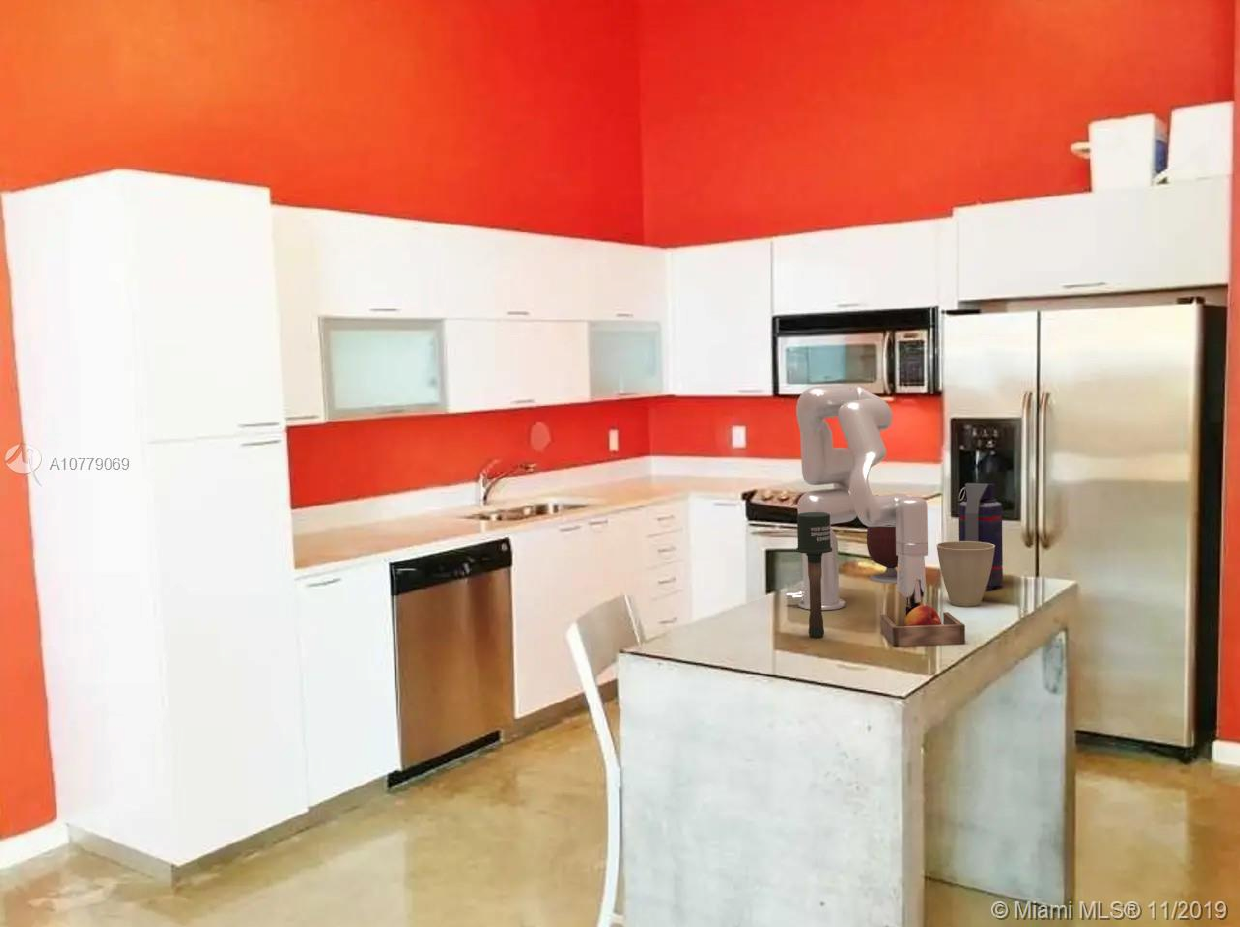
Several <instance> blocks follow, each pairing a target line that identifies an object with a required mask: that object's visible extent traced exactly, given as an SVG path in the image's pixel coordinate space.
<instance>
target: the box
mask: <svg viewBox="0 0 1240 927" xmlns="http://www.w3.org/2000/svg"><path fill="white" fill-rule="evenodd" d="M942 617H943V620H942V621H943V622H942V623H943V624H941V625H921V626H905V625H904V626H903V625H900V626H898V625H897V624H896V623H895V622H894V621H892V620H891V618H889V617H888V616H887V615H886V614H880V617H879V618H880V634H881V635H882V636H883V637H884V638H885V639H886V640H887V641H888V642H889V643H890V645H891V646H892V647H894V648H900V647H904V648H905V647H926V646H927V647H928V646H930V647H931V646H955V645H957V646H958V645H966V632H965V630H966V628H965V627H966V626H965V624H964V623H962V621H960V619H957V618H956V617H955V616H954V615H953V614H951V613H950V612H948V611H947V612H942Z"/></svg>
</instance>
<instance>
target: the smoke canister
mask: <svg viewBox="0 0 1240 927" xmlns="http://www.w3.org/2000/svg"><path fill="white" fill-rule="evenodd" d="M963 490H964V492H963V495H962V497H961V499H960V496H961V493H962V491H963ZM964 497H965V498H964ZM957 500H958V502H959V503H958V505H957V506H958V507H957V508H958V513H957V514H958V516H959V517H958V541H975V542H985V543H990V544H993V545H995V549H994V556H993V562H992V567H991V572H990V576H989V580H988V583H987V587H986V590H985V591H993V590H994V587H995V588H996V587H1000V586H1002V585H1003V583H1004V579H1003V577H1004V576H1003V575H1004V574H1003V573H1004V571H1003V569H1004V568H1003V566H1004V565H1003V561H1004V559H1003V555H1004V554H1003V518H1002V516H1003V504H1002V503H1001V502H998V501H997V499H996V498H995V484H994V483H987V482H966V483H964V486H963V487H962V488H961V489H960V492H959V494H958V499H957Z"/></svg>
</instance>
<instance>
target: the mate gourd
mask: <svg viewBox="0 0 1240 927" xmlns="http://www.w3.org/2000/svg"><path fill="white" fill-rule="evenodd" d="M866 545H867V546H866V547H867V551H868V555H869V557H870V558H871V560H872V561H873V562H874V563H876V564H878V565H880V566H883V567H885V572H883V573H877V574H872V575H870V578H869V579H870V581H872V582H874V583H880V584H881V583H882V584H897V575H898V570H897V568H898V557H899V556H897V555H896V524H895V525H886V526H878V527H868V526H867V530H866Z"/></svg>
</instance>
